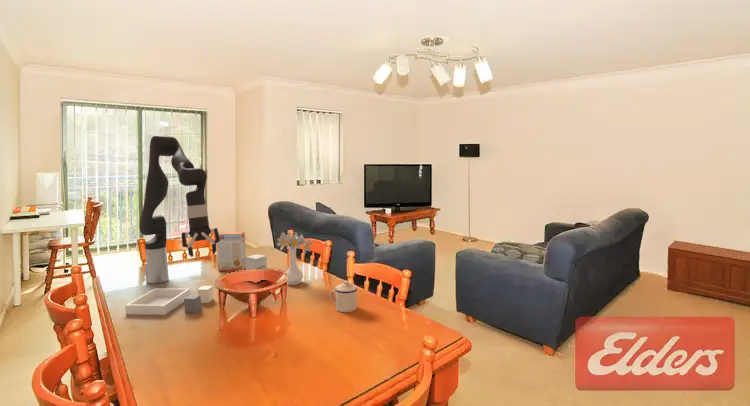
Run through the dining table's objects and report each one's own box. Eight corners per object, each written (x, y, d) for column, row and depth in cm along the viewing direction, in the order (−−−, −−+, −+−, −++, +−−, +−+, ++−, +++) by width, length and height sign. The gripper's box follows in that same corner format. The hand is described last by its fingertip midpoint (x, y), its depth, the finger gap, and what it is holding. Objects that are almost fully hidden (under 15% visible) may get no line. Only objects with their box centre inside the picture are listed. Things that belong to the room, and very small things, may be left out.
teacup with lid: (360, 305, 168) (360, 278, 166) (352, 314, 159) (352, 285, 158) (334, 302, 172) (333, 276, 170) (325, 310, 163) (324, 282, 162)
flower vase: (307, 288, 190) (305, 236, 186) (272, 285, 194) (270, 234, 191) (317, 280, 202) (316, 231, 199) (284, 277, 207) (282, 229, 203)
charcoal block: (185, 313, 162) (184, 298, 161) (190, 308, 166) (189, 294, 165) (195, 313, 161) (194, 298, 161) (201, 308, 166) (200, 294, 165)
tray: (125, 314, 160) (125, 305, 160) (155, 296, 180) (155, 288, 179) (164, 315, 159) (164, 305, 159) (190, 297, 179) (189, 288, 179)
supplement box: (256, 284, 197) (255, 258, 195) (246, 281, 201) (245, 256, 199) (267, 279, 203) (266, 255, 201) (257, 277, 207) (256, 253, 205)
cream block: (198, 302, 173) (197, 289, 172) (203, 299, 177) (202, 285, 176) (208, 303, 172) (207, 289, 172) (213, 299, 177) (212, 286, 176)
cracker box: (247, 268, 223) (245, 231, 220) (242, 271, 217) (240, 233, 214) (223, 268, 224) (221, 231, 222) (217, 271, 218) (215, 233, 216)
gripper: (217, 213, 172) (222, 251, 172) (181, 218, 168) (186, 256, 169) (215, 214, 164) (220, 253, 165) (177, 218, 161) (182, 258, 161)
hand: (203, 254), depth 167 cm, fingers open, 8 cm apart
